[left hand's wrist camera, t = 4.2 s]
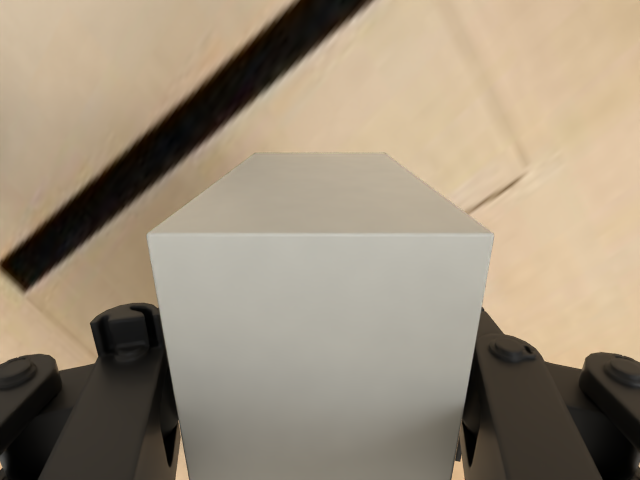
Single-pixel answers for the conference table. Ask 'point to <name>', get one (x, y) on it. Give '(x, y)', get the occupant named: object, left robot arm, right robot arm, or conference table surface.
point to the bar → (320, 320)
